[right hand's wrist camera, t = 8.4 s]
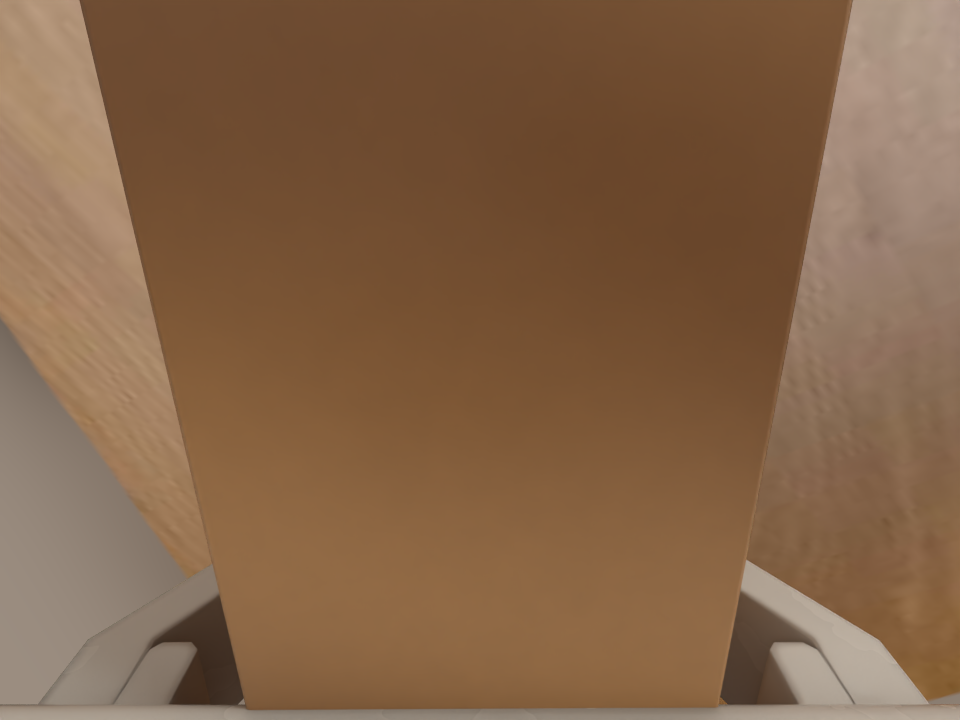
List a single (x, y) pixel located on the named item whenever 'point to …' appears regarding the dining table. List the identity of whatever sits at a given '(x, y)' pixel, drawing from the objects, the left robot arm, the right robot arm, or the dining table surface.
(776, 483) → the dining table surface
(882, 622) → the dining table surface
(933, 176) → the dining table surface
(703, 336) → the beam
